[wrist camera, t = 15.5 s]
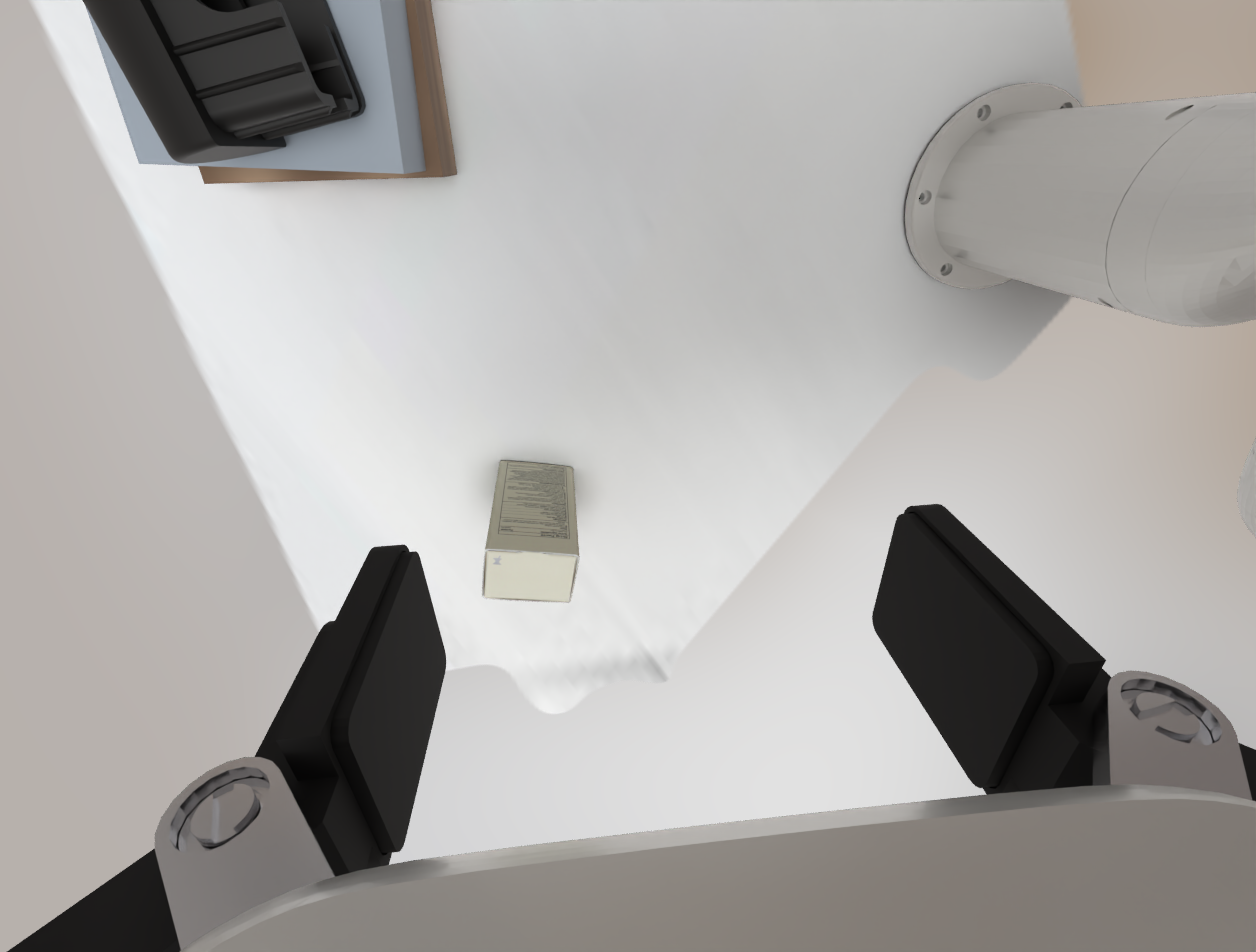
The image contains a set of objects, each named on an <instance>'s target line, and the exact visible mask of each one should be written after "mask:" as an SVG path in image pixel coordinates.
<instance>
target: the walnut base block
mask: <svg viewBox="0 0 1256 952" xmlns="http://www.w3.org/2000/svg"><path fill="white" fill-rule="evenodd" d="M405 2H406V10H407V19H408V27H409V35H410V43H411V51H412V60H413V68H414V76H415V84H416V93H417V101H418V109H419V117H420V125H421V134H422V142H423V150H424V158H425V167H426V171H422V172H414V173H406V174H396V173H370V172H344V171H318V170H292V169H266V168H239V167H213V166H199V169H200V172H201V175H202V178H203V181H204V184H213V183H248V182H283V181H318V180H353V179H388V178H423V177H445V176H451V175H456V174H457V170H456V163H455V157H454V150H453V144H452V137H451V131H450V124H449V118H448V111H447V104H446V98H445V91H444V85H443V78H442V72H441V65H440V59H439V52H438V46H437V39H436V33H435V26H434V19H433V13H432V6H431V0H405Z"/></svg>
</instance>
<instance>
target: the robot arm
mask: <svg viewBox="0 0 1256 952" xmlns="http://www.w3.org/2000/svg"><path fill="white" fill-rule="evenodd" d="M977 113H978V116H977ZM920 194H921V198H920V199H919V196H920ZM905 227H906V236H907V240H908V243H909V246H910V249H911V253H912V254H913V256H914V258H915V259H916V261H917V263H918V264H919V266H920V267H921V268H922V269H923V270H924V271H925V272H926V273H927V274H928V275H930V276H931V277H933V278H935V279H936V280H938V281H940V282H942V283H945V284H948V285H950V286H953V287H958V288H964V289H983V288H988V287H992V286H996V285H1000V284H1002V283H1005V282H1007V281H1009V280H1012V279H1015V280H1018V281H1021V282H1025V283H1028V284H1032V285H1035V286H1039V287H1042V288H1046V289H1049V290H1053V291H1056V292H1059V293H1063V294H1066V295H1070V296H1073V297H1077V298H1080V299H1084V300H1087V301H1091V302H1094V303H1097V304H1101V305H1104V306H1108V307H1111V308H1115V309H1118V310H1122V311H1125V312H1129V313H1132V314H1135V315H1139V316H1143V317H1146V318H1150V319H1154V320H1157V321H1161V322H1165V323H1170V324H1175V325H1181V326H1193V327H1209V326H1221V325H1222V326H1223V325H1231V324H1237V323H1241V322H1246V321H1250V320H1254V319H1256V92H1253V93H1241V94H1231V95H1218V96H1206V97H1194V98H1184V99H1171V100H1159V101H1147V102H1136V103H1123V104H1112V105H1101V106H1088V107H1082V106H1081V105H1080V103H1079V102H1078V100H1076V99H1075V98H1074V97H1073V96H1071V95H1070V94H1069V93H1067V92H1066V91H1065V90H1063V89H1060V88H1057V87H1055V86H1052V85H1050V84H1040V83H1025V84H1016V85H1011V86H1007V87H1003V88H999V89H996V90H993V91H991V92H989V93H987V94H985V95H983V96H981V97H979V98H977V99H975V100H974V101H972V102H971V103H970V104H968V105H967V106H965V107H964V108H962V109H961V110H960V111H959V112H957V113H956V114H955V115H954V116H953V117H952V118H951V119H950V120H949V121H948V122H947V123H946V124H945V125H944V126H943V127H942V128H941V130H940V131H939V132H938V134H937V135H936V136H935V137H934V139H933V140H932V141H931V143H930V144H929V146H928V147H927V149H926V151H925V153H924V154H923V156H922V158H921V159H920V161H919V163H918V165H917V168H916V170H915V173H914V175H913V178H912V180H911V183H910V187H909V192H908V196H907V200H906V210H905ZM1237 502H1238V508H1239V512H1240V515H1241V517H1242V519H1243V521H1244V523H1245V525H1246V526H1247V528H1248V529H1249V531H1250V532H1251V533H1252V534H1253V535H1254V536H1255V537H1256V438H1255V441H1254V443H1253V445H1252V448H1251V450H1250V452H1249V455H1248V457H1247V459H1246V462H1245V465H1244V468H1243V471H1242V474H1241V476H1240V481H1239V487H1238V492H1237ZM872 617H873V618H872V619H873V626H874V629H875V631H876V633H877V635H878V636H879V638H880V639H881V641H882V642H883V644H884V646H885V647H886V649H887V650H888V652H889V654H890V655H891V657H892V658H893V660H894V661H895V663H896V665H897V666H898V668H899V669H900V671H901V673H902V674H903V676H904V677H905V679H906V680H907V682H908V684H909V685H910V687H911V688H912V690H913V691H914V693H915V694H916V696H917V698H918V699H919V701H920V702H921V704H922V706H923V707H924V709H925V710H926V712H927V713H928V715H929V717H930V718H931V720H932V721H933V723H934V724H935V726H936V727H937V729H938V731H939V732H940V734H941V735H942V737H943V739H944V740H945V742H946V743H947V745H948V746H949V748H950V750H951V751H952V752H953V754H954V756H955V757H956V759H957V760H958V762H959V764H960V765H961V767H962V768H963V770H964V771H965V773H966V775H967V776H968V778H969V779H970V780H971V782H972V783H973V784H974V785H975V786H977V787H979V788H983V789H984V791H985V792H986V794H987V795H979V796H969V797H960V798H950V799H941V800H931V801H922V802H912V803H903V804H893V805H883V806H875V807H864V808H855V809H846V810H837V811H827V812H818V813H810V814H800V815H791V816H782V817H772V818H763V819H755V820H745V821H736V822H727V823H719V824H709V825H701V826H691V827H682V828H674V829H665V830H656V831H647V832H639V833H631V834H622V835H613V836H605V837H596V838H587V839H579V840H570V841H561V842H553V843H544V844H536V845H527V846H518V847H511V848H503V849H495V850H488V851H482V852H481V851H480V852H474V853H465V854H458V855H451V856H443V857H436V858H429V859H421V860H413V861H408V862H403V863H397V864H391V865H389V861H390V858H391V854H392V852H399V851H400V850H401V849H402V847H403V845H404V842H405V838H406V834H407V830H408V826H409V822H410V817H411V813H412V809H413V805H414V801H415V796H416V792H417V788H418V784H419V780H420V775H421V771H422V767H423V763H424V759H425V754H426V750H427V745H428V741H429V737H430V733H431V729H432V725H433V721H434V717H435V712H436V708H437V703H438V699H439V696H440V691H441V687H442V683H443V679H444V675H445V669H446V654H445V649H444V646H443V642H442V638H441V635H440V631H439V627H438V623H437V620H436V616H435V612H434V608H433V605H432V601H431V597H430V594H429V590H428V586H427V582H426V579H425V575H424V571H423V568H422V564H421V560H420V557H419V554H418V553H417V552H409V549H408V548H407V546H405V545H394V546H381V547H374V548H372V549H371V550H370V552H369V554H368V556H367V558H366V560H365V562H364V564H363V566H362V568H361V570H360V572H359V574H358V576H357V578H356V580H355V582H354V584H353V586H352V588H351V590H350V592H349V594H348V596H347V598H346V600H345V602H344V604H343V606H342V608H341V610H340V612H339V614H338V616H337V618H336V620H335V621H330V622H328V623H326V624H325V625H324V626H323V627H322V629H321V630H320V632H319V634H318V636H317V638H316V639H315V641H314V643H313V645H312V647H311V649H310V651H309V653H308V655H307V657H306V659H305V661H304V663H303V665H302V667H301V668H300V670H299V672H298V674H297V676H296V678H295V680H294V682H293V684H292V686H291V688H290V690H289V692H288V693H287V695H286V697H285V699H284V701H283V703H282V705H281V707H280V709H279V711H278V713H277V715H276V717H275V718H274V720H273V722H272V724H271V726H270V728H269V730H268V732H267V734H266V736H265V738H264V740H263V742H262V744H261V746H260V747H259V749H258V751H257V753H256V755H255V757H244V758H240V759H236V760H233V761H229V762H226V763H224V764H222V765H220V766H218V767H216V768H214V769H211V770H209V771H207V772H206V773H205V774H203V775H202V776H200V777H199V778H198V779H197V780H195V781H193V782H192V783H191V784H189V785H188V786H187V787H186V788H185V789H184V790H183V791H182V792H181V793H180V794H179V795H178V796H177V797H176V798H175V799H174V800H173V801H172V803H171V804H170V806H169V807H168V809H167V810H166V811H165V813H164V814H163V816H162V817H161V820H160V822H159V825H158V828H157V830H156V833H155V849H153V850H152V851H150V852H149V853H148V854H146V855H145V856H143V857H142V858H140V859H139V860H137V861H136V862H135V863H133V864H132V865H130V866H129V867H128V868H126V869H125V870H123V871H122V872H120V873H119V874H117V875H116V876H115V877H113V878H112V879H110V880H109V881H107V882H106V883H105V884H103V885H102V886H100V887H99V888H98V889H96V890H95V891H93V892H92V893H90V894H89V895H88V896H86V897H85V898H83V899H82V900H80V901H79V902H77V903H76V904H75V905H73V906H72V907H70V908H69V909H67V910H66V911H65V912H63V913H62V914H60V915H59V916H57V917H56V918H55V919H53V920H52V921H50V922H49V923H48V924H46V925H45V926H43V927H42V928H40V929H39V930H37V931H36V932H35V933H33V934H32V935H30V936H29V937H28V938H26V939H25V940H23V941H22V942H20V943H19V944H17V945H16V946H15V947H13V948H12V949H10V950H9V951H7V952H1256V750H1254V749H1252V748H1250V747H1247V746H1244V745H1242V744H1240V743H1238V739H1237V735H1236V732H1235V730H1234V728H1233V726H1232V724H1231V722H1230V721H1229V720H1228V719H1227V718H1226V716H1225V715H1224V714H1223V713H1222V712H1221V711H1220V710H1219V708H1217V707H1216V706H1215V705H1213V704H1212V703H1211V702H1210V701H1209V700H1207V699H1206V698H1205V697H1203V696H1202V695H1200V694H1199V693H1197V692H1195V691H1194V690H1192V689H1190V688H1188V687H1187V686H1185V685H1183V684H1181V683H1178V682H1176V681H1173V680H1171V679H1169V678H1166V677H1163V676H1160V675H1156V674H1152V673H1148V672H1140V671H1126V672H1121V673H1117V674H1116V675H1115V676H1113V677H1112V678H1111V677H1110V676H1109V675H1108V674H1107V673H1106V672H1105V671H1104V670H1103V669H1102V666H1103V665H1104V663H1105V661H1106V660H1105V659H1104V658H1103V657H1102V656H1101V655H1100V654H1099V653H1098V652H1097V651H1096V650H1095V649H1094V648H1093V647H1092V646H1090V645H1089V644H1088V643H1087V642H1086V641H1085V640H1084V639H1083V638H1082V637H1081V636H1080V635H1079V634H1078V633H1077V632H1076V631H1075V630H1074V629H1073V628H1072V627H1070V626H1069V625H1068V624H1067V623H1066V622H1065V621H1064V620H1063V619H1062V618H1061V617H1060V616H1059V615H1058V614H1057V613H1056V612H1055V611H1054V610H1052V609H1051V608H1050V607H1049V606H1048V605H1047V604H1046V603H1045V602H1044V601H1043V600H1042V599H1041V598H1040V597H1039V596H1038V595H1037V594H1036V593H1035V592H1034V591H1033V590H1031V589H1030V588H1029V587H1028V586H1027V585H1026V584H1025V583H1024V582H1023V581H1022V580H1021V579H1020V578H1019V577H1018V576H1017V575H1016V574H1015V573H1014V572H1012V571H1011V570H1010V569H1009V568H1008V567H1007V566H1006V565H1005V564H1004V563H1003V562H1002V561H1001V560H1000V559H999V558H998V557H997V556H996V555H995V554H993V553H992V552H991V551H990V550H989V549H988V548H987V547H986V546H985V545H984V544H983V543H982V542H981V541H980V540H979V539H978V538H977V537H975V535H974V534H972V533H971V532H970V531H969V530H968V529H967V528H966V527H965V526H964V525H963V524H962V523H961V522H960V521H959V520H958V519H957V518H956V517H955V516H954V515H952V514H951V513H950V512H949V511H948V510H947V509H946V508H945V507H943V506H942V505H939V504H932V505H919V506H910V507H908V508H907V509H906V510H905V512H904V514H901V515H899V516H898V517H897V520H896V523H895V527H894V531H893V535H892V539H891V543H890V547H889V551H888V555H887V559H886V563H885V567H884V571H883V575H882V579H881V583H880V587H879V591H878V595H877V599H876V603H875V607H874V611H873V616H872Z"/></svg>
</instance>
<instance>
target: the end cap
mask: <svg viewBox="0 0 1256 952" xmlns="http://www.w3.org/2000/svg"><path fill="white" fill-rule="evenodd" d="M83 2H84V4H85V5H86V7H87V9H88V11H89V13H90V14H91V16H92V18H93V20H94V22H95V23H96V25H97V27H98V29H99V30H100V32H101V34H102V36H103V38H104V39H105V41H106V43H107V45H108V47H109V48H110V50H111V52H112V54H113V56H114V57H115V59H116V61H117V63H118V64H119V66H120V68H121V70H122V72H123V73H124V75H125V77H126V79H127V81H128V82H129V84H130V86H131V88H132V90H133V91H134V93H135V95H136V97H137V98H138V100H139V102H140V104H141V106H142V107H143V109H144V111H145V113H146V115H147V116H148V118H149V120H150V122H151V123H152V125H153V127H154V129H155V131H156V132H157V134H158V136H159V138H160V140H161V141H162V143H163V145H164V147H165V149H166V150H167V152H168V154H169V155H170V157H171V158H172V159H173V160H175V161H176V162H179V163H184V164H196V163H207V162H216V161H222V160H229V159H234V158H240V157H245V156H250V155H255V154H259V153H264V152H268V151H272V150H276V149H280V148H284V147H286V141H285V139H284V137H283V136H288V135H292V134H295V133H299V132H303V131H307V130H310V129H314V128H318V127H321V126H325V125H329V124H332V123H336V122H340V121H343V120H347V119H351V118H354V117H358V116H360V115H361V114H363V113H364V110H365V107H366V105H365V99H364V96H363V94H362V91H361V88H360V86H359V83H358V81H357V78H356V75H355V73H354V70H353V68H352V65H351V63H350V60H349V57H348V55H347V52H346V50H345V47H344V45H343V42H342V39H341V37H340V34H339V32H338V29H337V27H336V24H335V21H334V19H333V16H332V14H331V11H330V8H329V6H328V3H327V1H326V0H83Z"/></svg>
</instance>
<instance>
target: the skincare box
mask: <svg viewBox="0 0 1256 952" xmlns="http://www.w3.org/2000/svg"><path fill="white" fill-rule="evenodd" d="M578 563H579V548H578V533H577V519H576V504H575V487H574V475H573V468H571V467H566V466H558V465H549V464H539V463H528V462H514V461H500V464H499V470H498V476H497V481H496V487H495V493H494V499H493V505H492V512H491V518H490V524H489V530H488V536H487V542H486V547H485V556H484V566H483V581H482V596H483V598H486V599H498V600H510V601H532V602H564V603H569V602H570V601H571V597H572V593H573V588H574V584H575V579H576V574H577V569H578Z"/></svg>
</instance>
